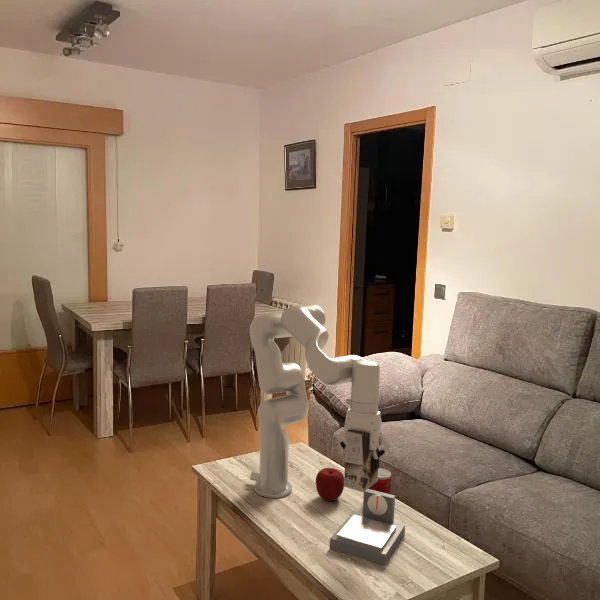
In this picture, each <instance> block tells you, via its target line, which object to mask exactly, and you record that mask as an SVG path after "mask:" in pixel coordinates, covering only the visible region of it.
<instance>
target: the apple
mask: <svg viewBox="0 0 600 600" xmlns="http://www.w3.org/2000/svg"><path fill="white" fill-rule="evenodd" d="M315 487H316V488H315V489H316V491H317V493H318V495H319V498H321V499H322V500H323V501H328V502H333V501H336V500H338V499H339V498H340V497H341V496H342V493H343V491H344V489H345V487H344V473H342V472H341V471H340V469H337V468H334V467H325V468H322V469H320V470H318V472H317V474H316V477H315Z"/></svg>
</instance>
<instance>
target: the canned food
mask: <svg viewBox="0 0 600 600" xmlns="http://www.w3.org/2000/svg"><path fill="white" fill-rule="evenodd" d="M391 487H392V473H391V471H390V470H388V469H387V468H386V469H385V468H382V467H379V469H378V481H377V482H376V483H375V484H373V485H372V486H371V487H369V488H368V489H371V490H375V491H379V492H383V493H387V494H391V489H392V488H391Z"/></svg>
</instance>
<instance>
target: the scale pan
mask: <svg viewBox="0 0 600 600" xmlns="http://www.w3.org/2000/svg"><path fill="white" fill-rule="evenodd" d="M395 530H396V526H395V525H391V524H387V523H384V522H380V521H376V520H372V519H369V518H365V517H361V516H358V515H353V516H352V517H351V519H350V520H349V521H348V522H347V523H346V524H345V526H344V527H343V528H342V529H341V530H340V531H339V533H338V534H337V538H338V539H341V540H345V541H348V542H352V543H355V544H358V545H362V546H365V547H369V548H372V549H375V550H379V551H382V550H383V548H384V547H385V545H386V544H387V542H388V541H389V539H390V538H391V536H392V535H393V533H394V532H395Z"/></svg>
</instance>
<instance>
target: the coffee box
mask: <svg viewBox="0 0 600 600" xmlns="http://www.w3.org/2000/svg"><path fill="white" fill-rule="evenodd" d="M369 443H370V433H366V432H362V431H354V430H347V431H346V451H345V452H344V453H345V454H344V456H345V457H344V473H343V475H344V488H348V489H351V490H354V491H357V492H360V493H364V491H366V490H367V489H368V488H369V487H371V486H372V485H373V484H375V483H376V482H377V481H378V470H376V471H375V472H374V473H372V472H371V465H372V458H373V454H372V452H371V451H372V450H369ZM378 447H379V448H380V446H378Z"/></svg>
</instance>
